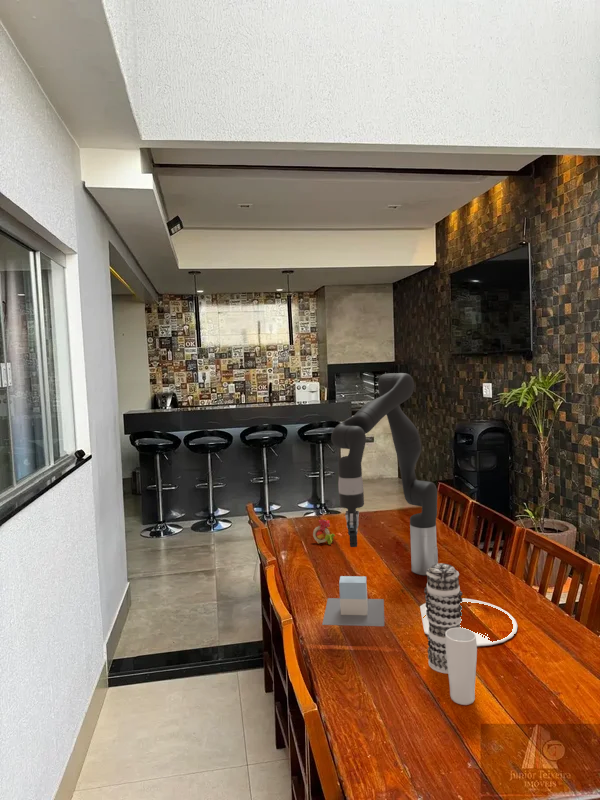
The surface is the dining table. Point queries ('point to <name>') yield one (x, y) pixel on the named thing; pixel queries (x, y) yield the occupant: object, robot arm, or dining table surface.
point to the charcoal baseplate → (371, 619)
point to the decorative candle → (441, 611)
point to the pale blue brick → (353, 587)
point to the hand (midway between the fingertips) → (353, 546)
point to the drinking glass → (461, 664)
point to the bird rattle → (320, 534)
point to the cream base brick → (354, 606)
